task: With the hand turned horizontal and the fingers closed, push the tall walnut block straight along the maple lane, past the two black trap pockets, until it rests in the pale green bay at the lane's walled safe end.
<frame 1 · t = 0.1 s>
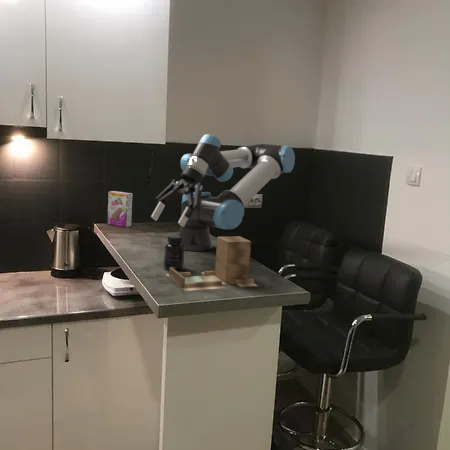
hand: (166, 221, 174), 15 cm above the worktop, tool tilted 35°, fingers open, 13 cm apart
candy bar box: (119, 226, 244), on the worktop
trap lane: (210, 282, 157), on the worktop
walnut block: (231, 278, 160), point 1 cm above the worktop, touching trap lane
supplement bottle: (173, 271, 168), on the worktop
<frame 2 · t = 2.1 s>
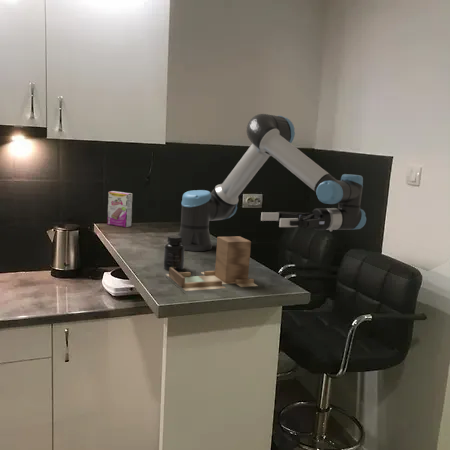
hand: (270, 219, 162), 20 cm above the worktop, tool horizontal, fingers open, 11 cm apart
nothing on the worktop moved.
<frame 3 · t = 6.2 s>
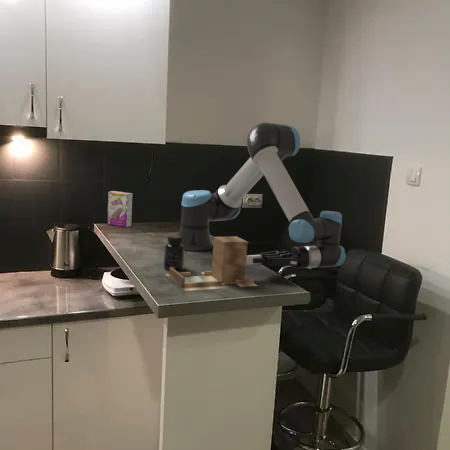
hand: (242, 260, 159), 7 cm above the worktop, tool horizontal, fingers closed
walnut block: (227, 278, 160), point 1 cm above the worktop, touching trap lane
everything else where it was.
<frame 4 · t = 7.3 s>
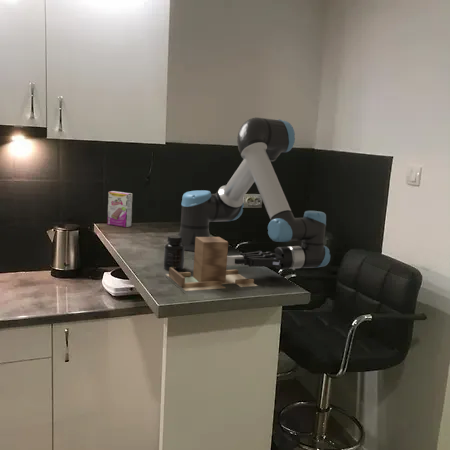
hand: (224, 260, 157), 7 cm above the worktop, tool horizontal, fingers closed
walnut block: (209, 279, 157), point 1 cm above the worktop
everything else where it was.
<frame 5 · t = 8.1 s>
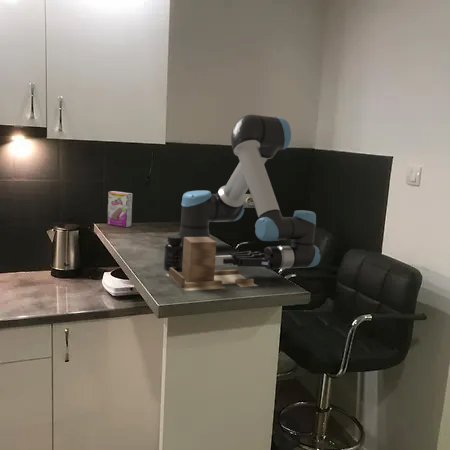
hand: (212, 260, 155), 7 cm above the worktop, tool horizontal, fingers closed
walnut block: (197, 280, 156), point 1 cm above the worktop, touching gripper
everything else where it was.
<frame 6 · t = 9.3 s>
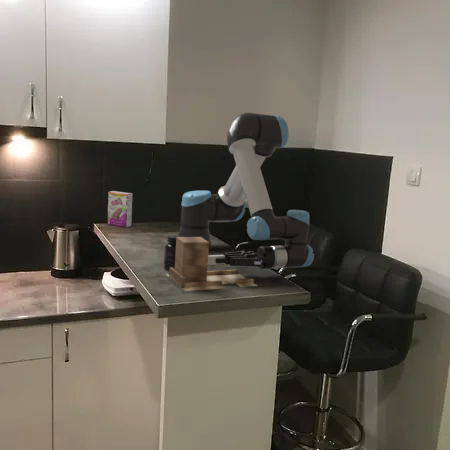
hand: (204, 260, 155), 7 cm above the worktop, tool horizontal, fingers closed
walnut block: (190, 280, 155), point 1 cm above the worktop, touching gripper, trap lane
everything else where it was.
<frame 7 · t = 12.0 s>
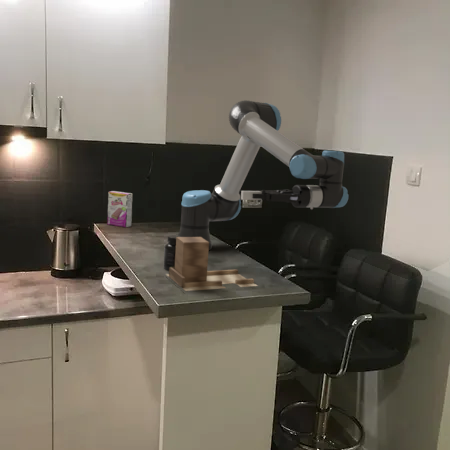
hand: (242, 195, 157), 28 cm above the worktop, tool horizontal, fingers closed
walnut block: (190, 280, 155), point 1 cm above the worktop, touching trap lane
everything else where it was.
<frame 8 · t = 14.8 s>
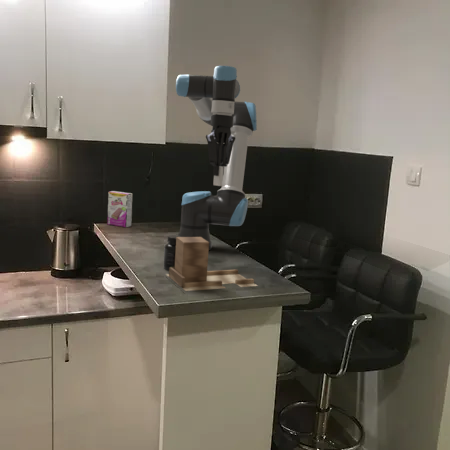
hand: (217, 185, 169), 29 cm above the worktop, tool pointing down, fingers closed
nothing on the worktop moved.
at the end: walnut block inside the target area (1.4 cm from its centre), point 1.0 cm above the worktop; walnut block tilted 0°; walnut block moved 13.9 cm from its start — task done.
